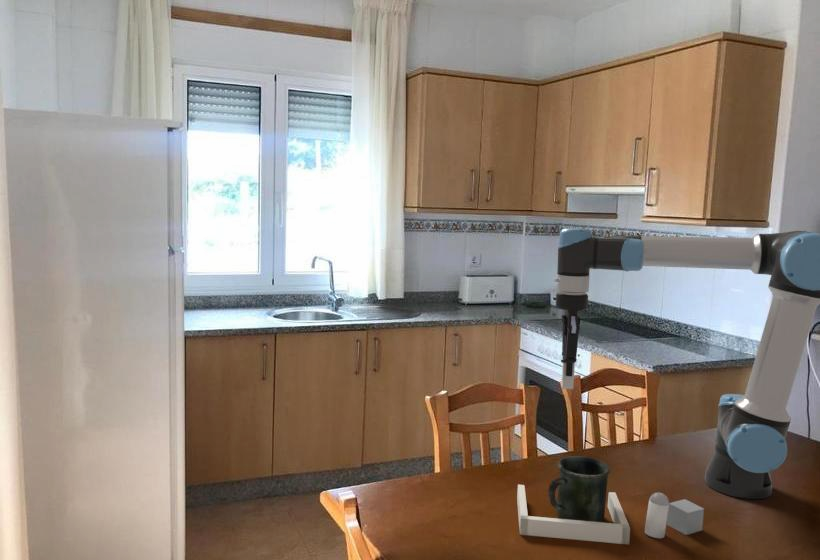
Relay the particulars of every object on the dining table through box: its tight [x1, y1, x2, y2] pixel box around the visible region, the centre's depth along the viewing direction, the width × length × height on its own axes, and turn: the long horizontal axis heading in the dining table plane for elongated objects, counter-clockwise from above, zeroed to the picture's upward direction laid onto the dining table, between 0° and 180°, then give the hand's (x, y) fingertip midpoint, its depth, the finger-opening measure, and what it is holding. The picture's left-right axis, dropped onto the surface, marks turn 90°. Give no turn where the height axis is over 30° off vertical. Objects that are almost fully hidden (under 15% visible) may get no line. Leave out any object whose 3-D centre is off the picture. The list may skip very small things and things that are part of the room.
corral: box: [516, 484, 631, 545], centre depth 148 cm, size 22×17×4 cm
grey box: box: [666, 498, 705, 536], centre depth 147 cm, size 5×5×5 cm
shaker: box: [644, 492, 670, 539], centre depth 143 cm, size 4×4×9 cm
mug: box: [547, 455, 611, 523], centre depth 148 cm, size 11×15×12 cm
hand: (567, 387), depth 166 cm, fingers closed
